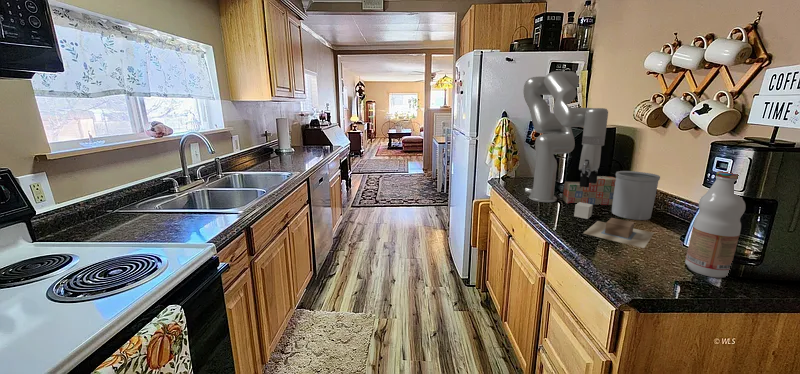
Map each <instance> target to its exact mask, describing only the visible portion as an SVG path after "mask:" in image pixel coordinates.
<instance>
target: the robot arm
mask: <svg viewBox="0 0 800 374" xmlns="http://www.w3.org/2000/svg"><path fill="white" fill-rule="evenodd" d="M524 82H525V83H524V84H523V85H524V86H523V98H524V100H525V103H526V105H527V107H528V109H529V114H530V117H531V120H532V121H531V122H532V125H533V129H534V131H535V133H538V134H539V135H538V136H537V137H536V139H535V142H534V147H535V165H534V174H533V175H534V176H533V183H532V184H533V185H532V188H529V187H525V189H524V192H525V193H528V194H529V195H528V198H529V199H530V200H532V201H534V202H538V203H554V202H555V203H556V202H557V200H558V197H557V196H555V195H554V194H555V186H556V180H557V179H556V178H557V170H558V163H557V159H556V158H555V155H558V154H559V155H566V154H569V153H571V152H573V150H574V149H575V146H576V145H575V144H576V143H575V137H574V134H573V133H574V132H573V130H572V128H578V127H579V128H582V129H583V132H582V138H581V140H582V141H581V145H582V148H581V153H580V157H579V158H580V160H579V165H578V170H579V171H580V180H579V182H580V186H581V187H589V183H597V176H599V175H598V172H599V168H600V164H601V155H602V147H603V146H605V140H606V133H607V127H608V126H607V124H608V116H609V110H608V109H607V108H606V107H605V108H603V107H569V104H570V103H571V102H573V101H574V100H575V98H576V96H577V90H576V89H577V88H578V86H579V85H580V84H579V83H580V77H579V75H578V74H577V73H576V72H575V71H572V70H571V71H568V70H566V71H565V70H563V71H562V70H554V71H551V72H549V73H547V74H546V75H545V76H532V77H529V78H528V79H527V80H525V81H524ZM542 96H552V98H553V99H554V103H553V112H551V111H550V108H549V107H550V106H549V104H548V102H547V101H546V99H544V98H543V97H542Z"/></svg>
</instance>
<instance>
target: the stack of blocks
mask: <svg viewBox="0 0 800 374" xmlns="http://www.w3.org/2000/svg"><path fill="white" fill-rule="evenodd" d="M615 181H616V177H614V176H607V175H605V176H604V175H602V176H601V175H597V183H589V187H581V186H580V181H564V185H563V186H564V187H563V192H562V193H563V194H562V201H563V202H564V203H566V204H569V203H579V202H582V203H587V204H593V205H599V204H600V205H601V206H602V205H603V206H604V205H606V206H612V203H613V196H614V188H615Z"/></svg>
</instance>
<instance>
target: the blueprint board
mask: <svg viewBox="0 0 800 374" xmlns="http://www.w3.org/2000/svg"><path fill="white" fill-rule="evenodd" d="M605 228H606V221H605V222H604V221H601V220H597V221H596V222H595V223H594V224H592V225H591V226H590V227H589V228H587V230H585V231H584V232H583V235H588V236H591V237H596V238H600V239H605V240H609V241H613V242H617V243H621V244H625V245H629V246H632V247H633V246H634V247H637V248H642V249H645V247H646V246H647V245H648V243H649V242H650V240H651V238H652V237H653V236H654V233H655V232H653V231H652V232H651V231H648V230H643V229H637V228H634V227H633V233H632V234H631V235H630V237H629V238H624V237H619V236H615V235H611V234H606V233H605Z"/></svg>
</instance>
